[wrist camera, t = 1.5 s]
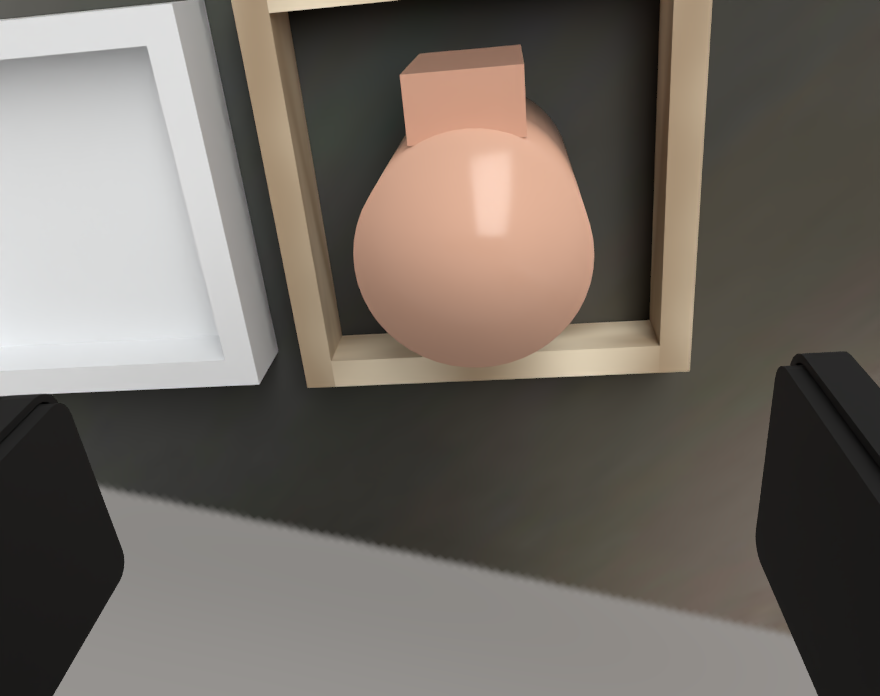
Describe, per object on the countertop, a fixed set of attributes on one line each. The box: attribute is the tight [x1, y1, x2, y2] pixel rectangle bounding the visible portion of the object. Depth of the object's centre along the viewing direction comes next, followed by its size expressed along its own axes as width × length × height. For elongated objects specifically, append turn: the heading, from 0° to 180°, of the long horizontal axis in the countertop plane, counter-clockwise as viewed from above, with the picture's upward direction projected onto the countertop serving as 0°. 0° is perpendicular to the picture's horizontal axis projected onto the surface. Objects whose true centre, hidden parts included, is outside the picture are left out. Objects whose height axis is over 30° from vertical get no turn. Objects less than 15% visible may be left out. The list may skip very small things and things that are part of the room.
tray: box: [0, 0, 278, 396], centre depth 25 cm, size 12×12×2 cm
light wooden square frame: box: [231, 0, 712, 388], centre depth 24 cm, size 13×13×2 cm
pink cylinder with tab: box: [353, 45, 594, 368], centre depth 21 cm, size 7×6×8 cm
